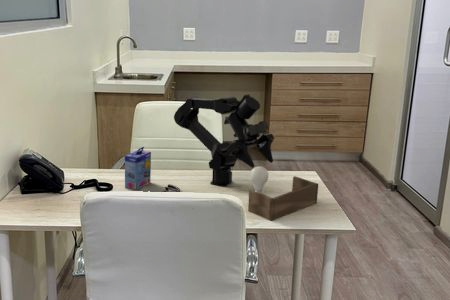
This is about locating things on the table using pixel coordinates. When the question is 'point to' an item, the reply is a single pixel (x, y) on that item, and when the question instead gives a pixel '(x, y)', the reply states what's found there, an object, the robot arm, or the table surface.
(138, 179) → the ink cartridge box
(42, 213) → the table surface
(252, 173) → the lightbulb
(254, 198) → the open box
